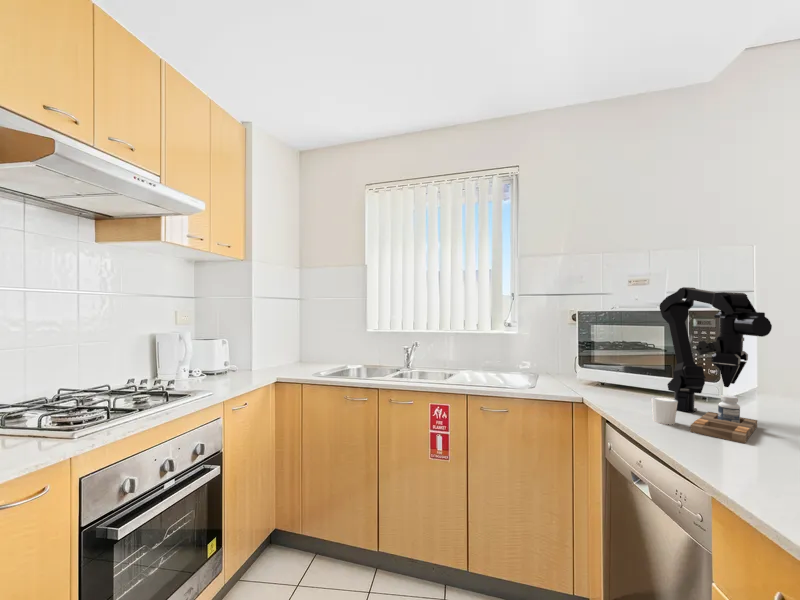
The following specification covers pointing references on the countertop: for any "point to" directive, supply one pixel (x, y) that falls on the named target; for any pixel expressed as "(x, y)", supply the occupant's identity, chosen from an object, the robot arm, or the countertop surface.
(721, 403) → the pill bottle
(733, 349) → the robot arm
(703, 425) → the rail
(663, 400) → the white cylinder
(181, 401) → the countertop surface
